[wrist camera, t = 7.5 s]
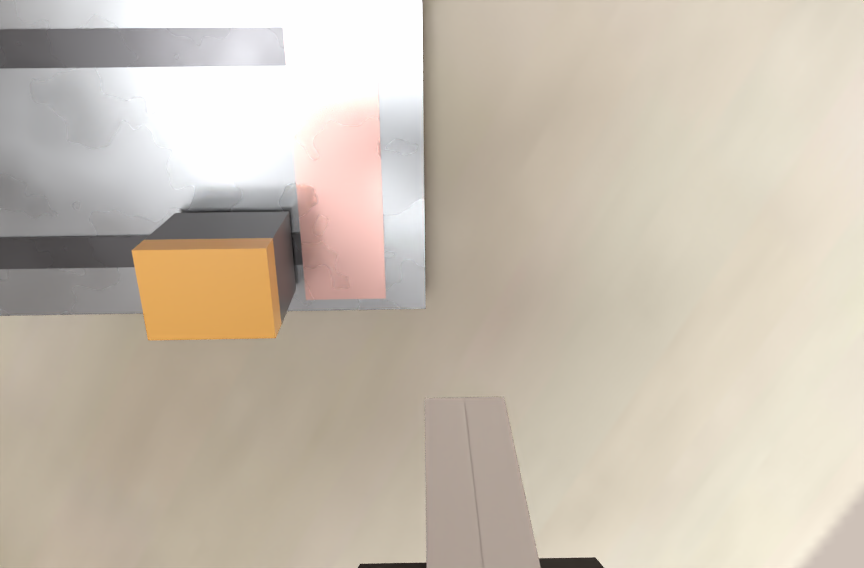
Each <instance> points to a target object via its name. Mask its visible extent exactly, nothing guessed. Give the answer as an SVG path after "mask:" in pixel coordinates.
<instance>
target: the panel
mask: <svg viewBox="0 0 864 568" xmlns="http://www.w3.org/2000/svg"><path fill="white" fill-rule="evenodd" d="M280 211H289V215H290V226H291V237H292V248H293V260H294V271H295V282H296V291H295V294H294V296H293V298H292V301H291V303H290V305H289V308H288V310H287V311H318V310H379V309H426V295H425V209H424V123H423V37H422V0H0V316H10V315H72V314H133V313H143V310H142V304H141V299H140V293H139V288H138V283H137V277H136V272H135V266H134V261H133V255H132V250H133V249H134V248H135V247H136V246H137V245H138V244H140V243H141V242H142V241H143V240H144V239H145V238H147V237H148V236H149V235H150V234H151V233H152V232H154V231H155V230H156V229H157V228H158V227H160V226H161V225H162V224H163V223H164V222H165V221H167V220H168V219H169V218H170V217H171V216H172V215H174V214H175V213H205V212H280Z"/></svg>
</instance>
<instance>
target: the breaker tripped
mask: <svg viewBox="0 0 864 568" xmlns="http://www.w3.org/2000/svg"><path fill="white" fill-rule="evenodd" d="M132 255H133V261H134V266H135V272H136V277H137V283H138V288H139V293H140V299H141V304H142V310H143V315H144V320H145V326H146V331H147V337H148V340H199V339H257V338H276V336H277V334H278V331H279V329H280V327H281V324H282V322H283V320H284V317H285V315H286V313H287V310H288V308H289V305H290V303H291V301H292V298H293V296H294V294H295V291H296V282H295V271H294V260H293V248H292V237H291V226H290V215H289V211H280V212H205V213H175V214H174V215H172V216H171V217H170V218H169V219H168V220H167V221H165V222H164V223H163V224H162V225H161V226H160V227H158V228H157V229H156V230H155V231H154V232H152V233H151V234H150V235H149V236H148V237H147V238H145V239H144V240H143V241H142V242H141V243H140V244H138V245H137V246H136V247H135V248H134V249H133V250H132Z"/></svg>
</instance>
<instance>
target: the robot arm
mask: <svg viewBox="0 0 864 568" xmlns="http://www.w3.org/2000/svg"><path fill="white" fill-rule="evenodd" d="M425 471H426V558H427V563H382V564H360V565H359V567H358V568H604V567H603V566H602V565H601V564H600V563H599V561H598V560H597V559H596V558H541V559H539V558H538V553H537V548H536V544H535V539H534V534H533V530H532V525H531V521H530V516H529V511H528V507H527V502H526V497H525V493H524V488H523V483H522V479H521V474H520V469H519V465H518V460H517V455H516V451H515V446H514V442H513V437H512V432H511V428H510V423H509V418H508V414H507V409H506V404H505V400H504V397H461V398H425Z"/></svg>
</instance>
